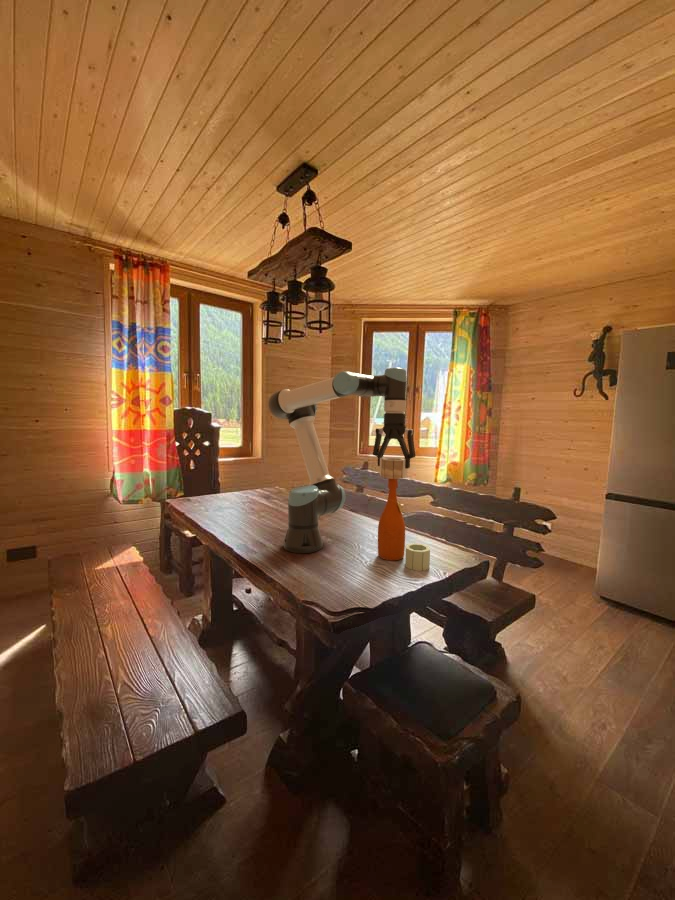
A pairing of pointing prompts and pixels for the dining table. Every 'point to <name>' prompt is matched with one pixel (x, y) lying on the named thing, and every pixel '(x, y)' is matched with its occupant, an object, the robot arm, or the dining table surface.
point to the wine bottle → (391, 527)
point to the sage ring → (417, 557)
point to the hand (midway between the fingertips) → (393, 476)
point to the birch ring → (392, 468)
